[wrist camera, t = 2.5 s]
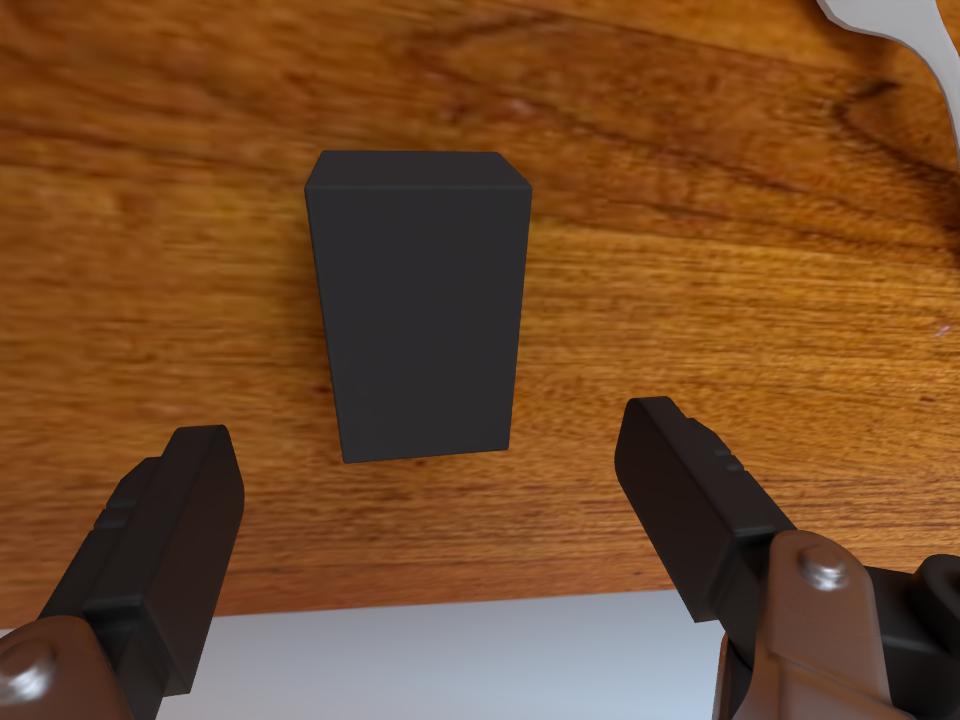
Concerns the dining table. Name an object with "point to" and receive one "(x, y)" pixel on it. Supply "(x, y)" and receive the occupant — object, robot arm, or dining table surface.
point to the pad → (420, 297)
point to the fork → (908, 39)
